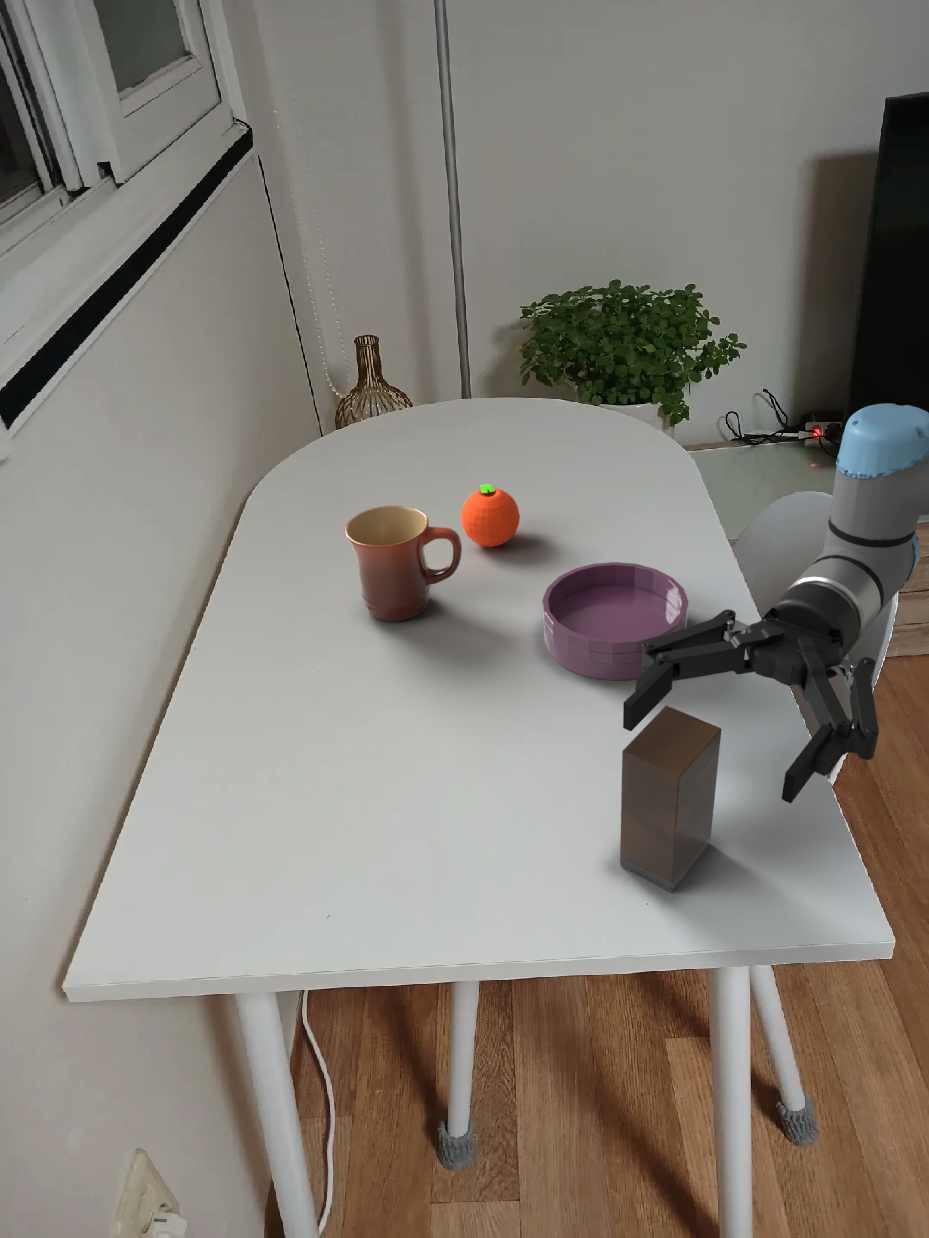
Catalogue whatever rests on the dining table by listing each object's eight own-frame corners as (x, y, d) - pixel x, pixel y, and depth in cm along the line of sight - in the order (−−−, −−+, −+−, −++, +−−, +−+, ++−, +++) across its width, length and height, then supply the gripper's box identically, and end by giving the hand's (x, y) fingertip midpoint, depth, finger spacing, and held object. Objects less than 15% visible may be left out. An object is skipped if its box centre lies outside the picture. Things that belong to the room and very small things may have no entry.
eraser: (710, 843, 74) (722, 728, 67) (671, 893, 71) (679, 777, 64) (659, 818, 77) (666, 704, 70) (619, 865, 73) (621, 750, 66)
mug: (351, 629, 102) (336, 547, 96) (366, 584, 109) (354, 505, 103) (462, 629, 100) (454, 545, 94) (470, 584, 107) (463, 503, 101)
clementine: (457, 529, 118) (452, 477, 114) (511, 520, 118) (508, 468, 114) (469, 561, 111) (464, 508, 107) (527, 552, 112) (524, 498, 108)
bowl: (715, 638, 96) (718, 601, 93) (612, 700, 89) (613, 662, 86) (615, 582, 105) (615, 547, 103) (516, 634, 99) (513, 599, 96)
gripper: (957, 700, 81) (857, 859, 68) (693, 608, 95) (569, 725, 82) (977, 629, 76) (875, 784, 64) (697, 543, 90) (568, 656, 78)
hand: (703, 751), depth 73 cm, fingers open, 13 cm apart
